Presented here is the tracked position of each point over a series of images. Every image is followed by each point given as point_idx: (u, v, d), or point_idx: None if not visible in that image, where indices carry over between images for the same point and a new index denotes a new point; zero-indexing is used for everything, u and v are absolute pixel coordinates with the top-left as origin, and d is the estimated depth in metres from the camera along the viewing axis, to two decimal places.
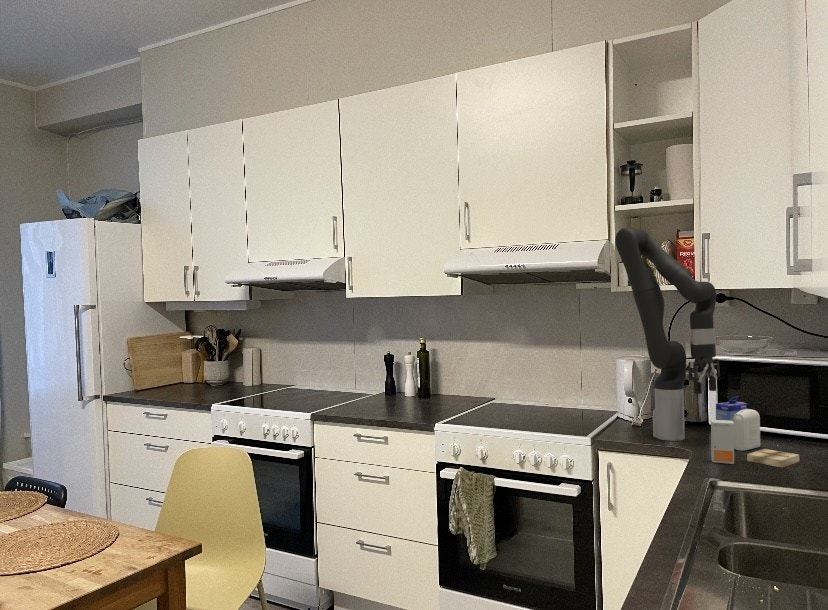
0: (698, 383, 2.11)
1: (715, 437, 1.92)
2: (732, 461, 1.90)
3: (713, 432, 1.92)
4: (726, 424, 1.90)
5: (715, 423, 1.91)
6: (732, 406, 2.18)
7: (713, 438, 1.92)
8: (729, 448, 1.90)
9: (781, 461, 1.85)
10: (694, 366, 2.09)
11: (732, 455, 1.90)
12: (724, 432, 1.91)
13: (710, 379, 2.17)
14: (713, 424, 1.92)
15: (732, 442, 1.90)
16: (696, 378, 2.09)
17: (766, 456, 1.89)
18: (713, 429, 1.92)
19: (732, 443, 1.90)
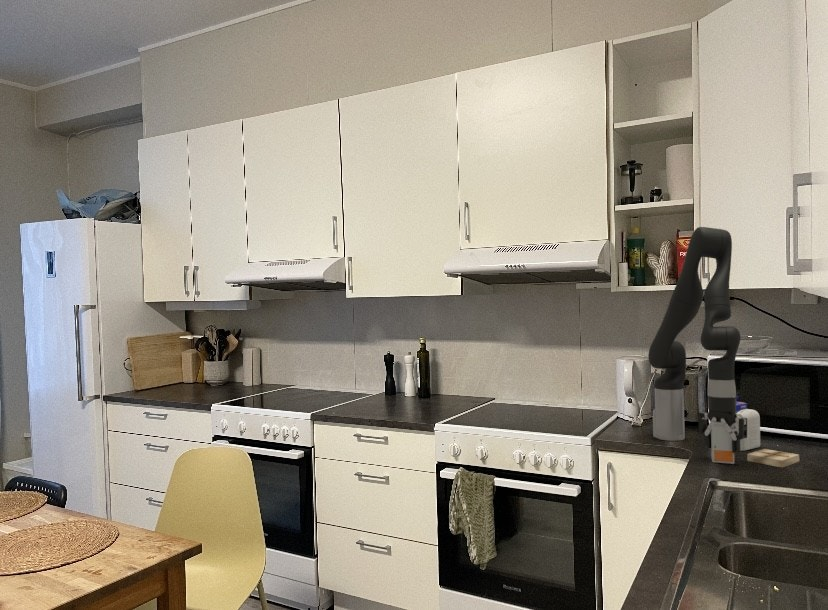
0: None
1: (715, 437, 1.91)
2: (732, 461, 1.90)
3: (713, 432, 1.92)
4: None
5: (715, 423, 1.91)
6: None
7: (713, 438, 1.92)
8: (729, 448, 1.90)
9: (781, 461, 1.85)
10: (746, 422, 1.88)
11: (732, 455, 1.90)
12: (724, 432, 1.91)
13: (709, 435, 1.95)
14: (713, 424, 1.92)
15: None
16: None
17: (766, 456, 1.89)
18: (713, 429, 1.92)
19: None
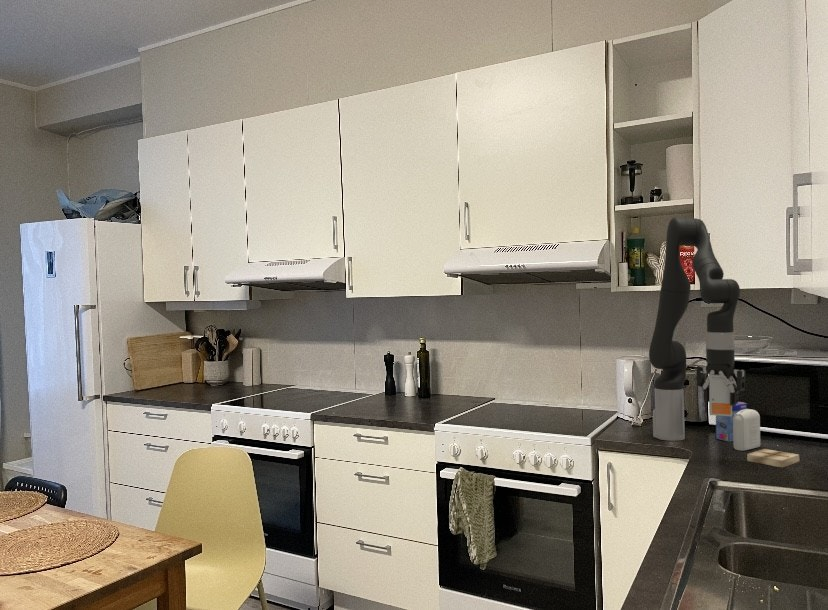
0: None
1: (713, 390, 1.91)
2: (730, 413, 1.90)
3: (711, 385, 1.92)
4: None
5: (713, 376, 1.91)
6: (732, 406, 2.18)
7: (711, 391, 1.92)
8: (727, 400, 1.90)
9: (781, 461, 1.85)
10: (744, 374, 1.87)
11: (730, 407, 1.90)
12: (722, 384, 1.90)
13: (707, 389, 1.95)
14: (711, 377, 1.91)
15: None
16: None
17: (766, 456, 1.89)
18: (711, 382, 1.92)
19: None
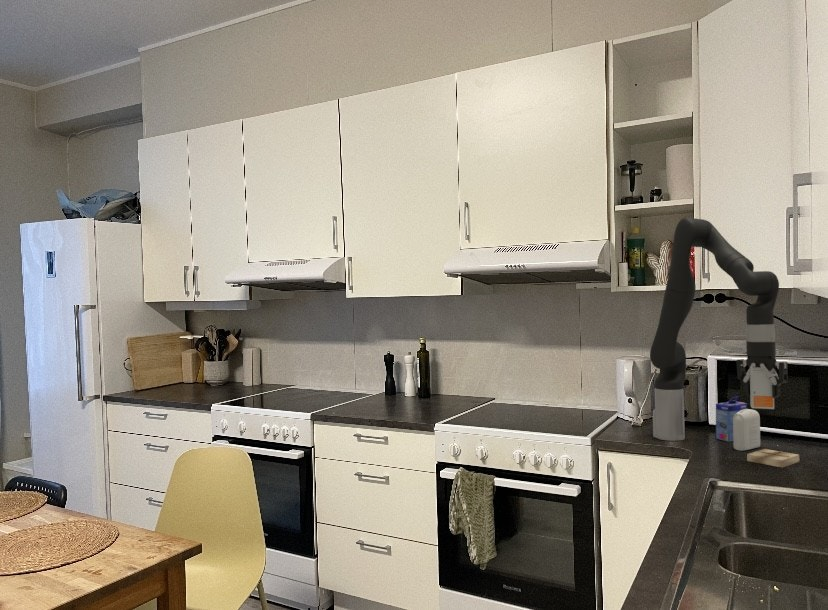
0: None
1: (754, 382, 1.90)
2: (772, 406, 1.88)
3: (752, 377, 1.90)
4: None
5: (754, 368, 1.90)
6: (732, 406, 2.18)
7: (752, 384, 1.90)
8: (769, 393, 1.89)
9: (781, 461, 1.85)
10: (787, 366, 1.86)
11: (772, 400, 1.88)
12: (763, 377, 1.89)
13: (748, 382, 1.94)
14: (752, 369, 1.90)
15: None
16: None
17: (766, 456, 1.89)
18: (752, 374, 1.90)
19: None
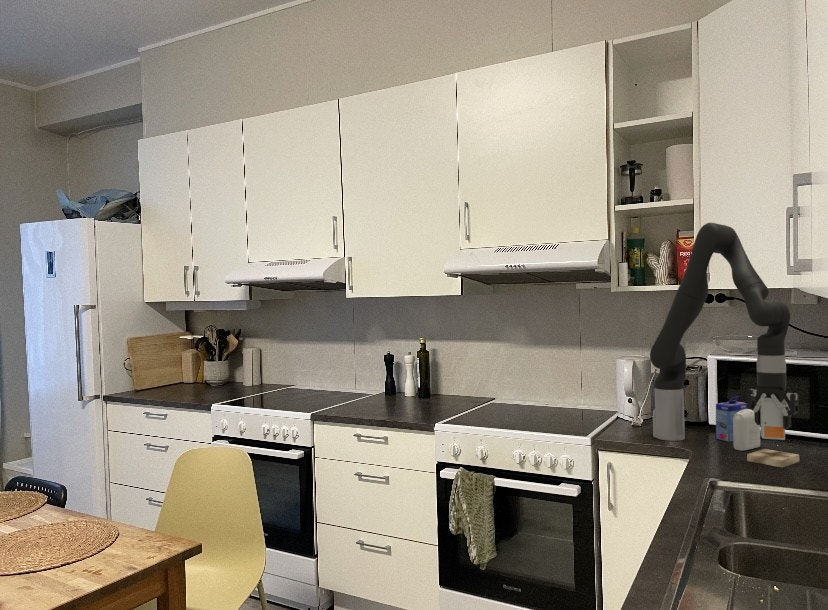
0: None
1: (765, 413, 1.90)
2: (783, 437, 1.89)
3: (763, 408, 1.91)
4: None
5: (765, 399, 1.90)
6: (732, 406, 2.18)
7: (763, 414, 1.91)
8: (780, 423, 1.89)
9: (781, 461, 1.85)
10: (798, 398, 1.87)
11: (783, 431, 1.89)
12: (774, 407, 1.90)
13: (758, 412, 1.94)
14: (763, 400, 1.91)
15: None
16: None
17: (766, 456, 1.89)
18: (763, 405, 1.91)
19: None
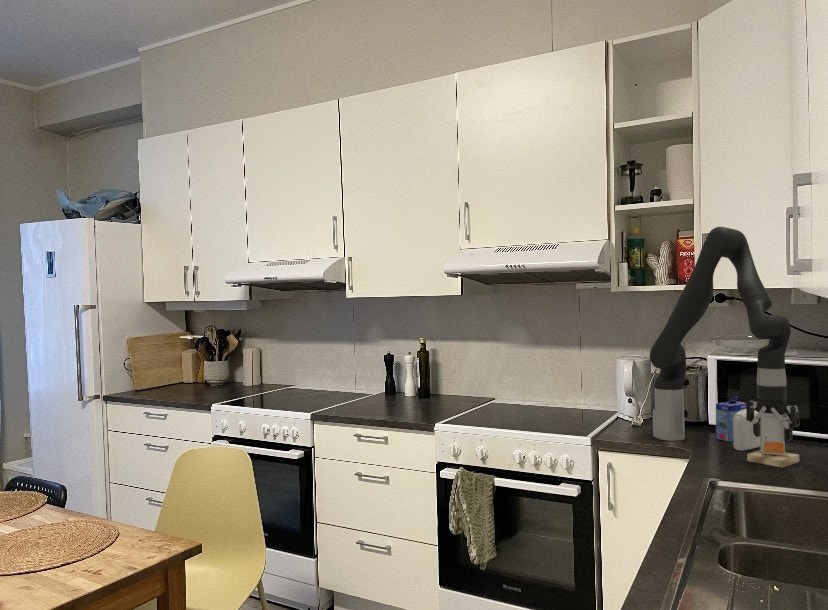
0: None
1: (765, 428, 1.90)
2: (783, 452, 1.89)
3: (763, 423, 1.91)
4: None
5: (765, 414, 1.90)
6: (732, 406, 2.18)
7: (763, 429, 1.91)
8: (779, 439, 1.89)
9: (781, 461, 1.85)
10: (798, 410, 1.86)
11: (783, 446, 1.89)
12: (774, 423, 1.90)
13: (757, 424, 1.95)
14: (763, 415, 1.91)
15: (783, 433, 1.89)
16: None
17: (766, 456, 1.89)
18: (763, 420, 1.91)
19: (783, 434, 1.89)
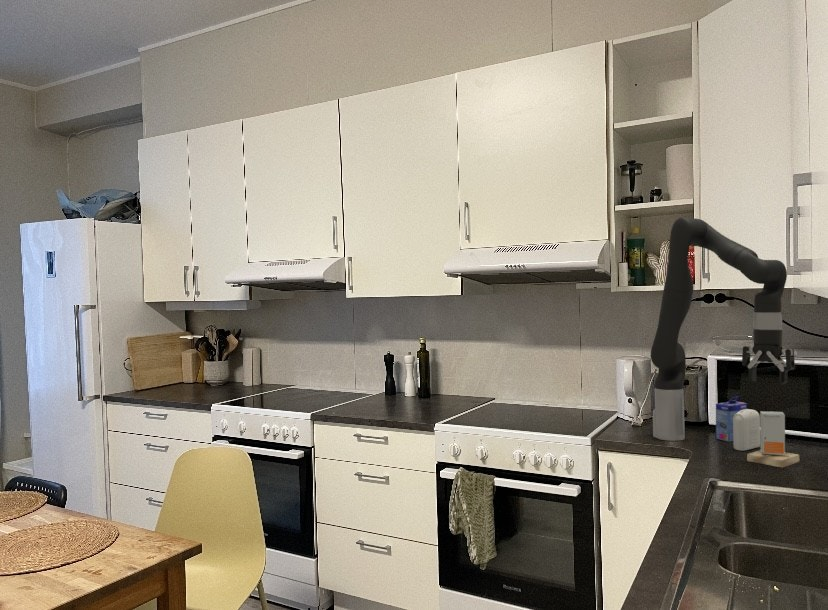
0: None
1: (765, 428, 1.90)
2: (783, 452, 1.89)
3: (763, 423, 1.91)
4: (777, 415, 1.89)
5: (765, 414, 1.90)
6: (732, 406, 2.18)
7: (763, 429, 1.91)
8: (779, 439, 1.89)
9: (781, 461, 1.85)
10: (793, 353, 1.88)
11: (783, 446, 1.89)
12: (774, 423, 1.90)
13: (753, 368, 1.96)
14: (763, 415, 1.91)
15: (783, 433, 1.89)
16: None
17: (766, 456, 1.89)
18: (763, 420, 1.91)
19: (783, 434, 1.89)
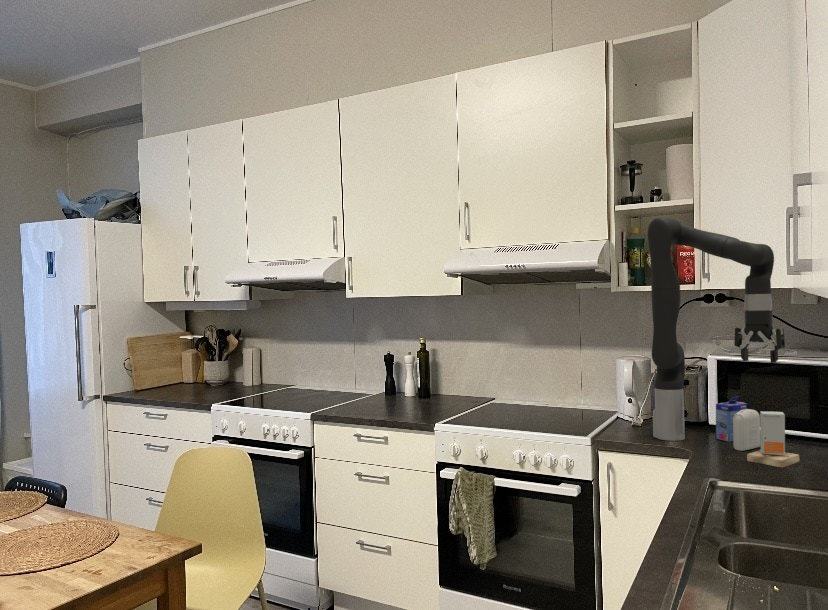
0: None
1: (765, 428, 1.90)
2: (783, 452, 1.89)
3: (763, 423, 1.91)
4: (777, 415, 1.89)
5: (765, 414, 1.90)
6: (732, 406, 2.18)
7: (763, 429, 1.91)
8: (779, 439, 1.89)
9: (781, 461, 1.85)
10: (783, 332, 1.96)
11: (783, 446, 1.89)
12: (774, 423, 1.90)
13: (745, 349, 2.04)
14: (763, 415, 1.91)
15: (783, 433, 1.89)
16: None
17: (766, 456, 1.89)
18: (763, 420, 1.91)
19: (783, 434, 1.89)
